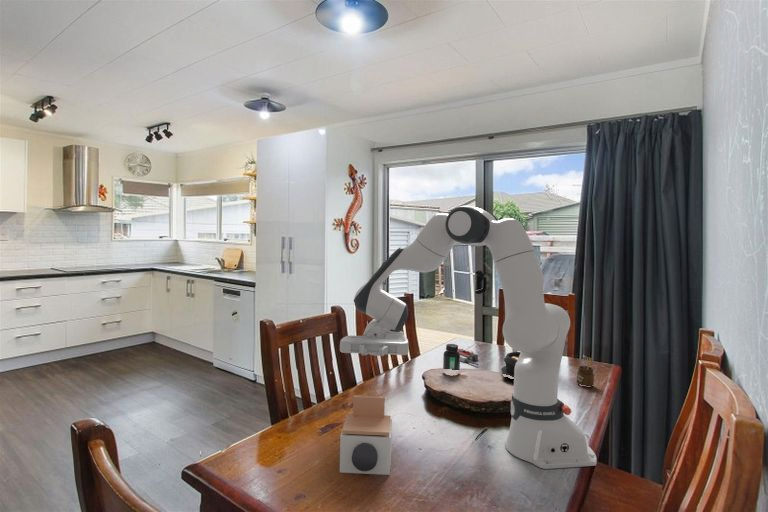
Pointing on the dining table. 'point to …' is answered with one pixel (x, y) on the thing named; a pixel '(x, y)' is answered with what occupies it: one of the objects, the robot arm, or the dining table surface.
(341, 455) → the camera case
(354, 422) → the tan wooden stepped block
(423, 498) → the dining table surface
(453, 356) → the supplement bottle
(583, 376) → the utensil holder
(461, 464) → the dining table surface
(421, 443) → the dining table surface
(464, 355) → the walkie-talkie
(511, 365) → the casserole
